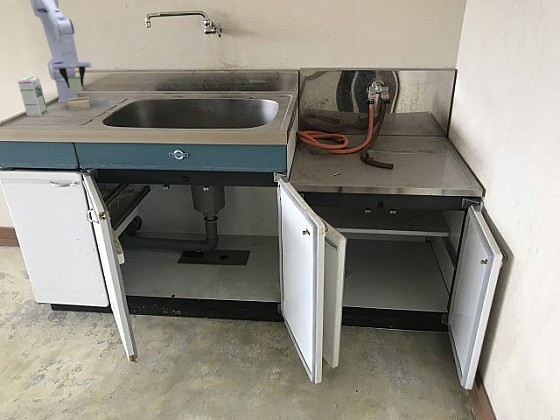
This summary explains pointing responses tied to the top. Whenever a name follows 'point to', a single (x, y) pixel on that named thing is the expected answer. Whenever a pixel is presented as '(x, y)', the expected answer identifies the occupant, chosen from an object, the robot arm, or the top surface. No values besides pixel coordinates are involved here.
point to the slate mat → (93, 105)
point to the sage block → (75, 84)
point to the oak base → (78, 103)
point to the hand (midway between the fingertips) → (75, 86)
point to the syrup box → (32, 96)
